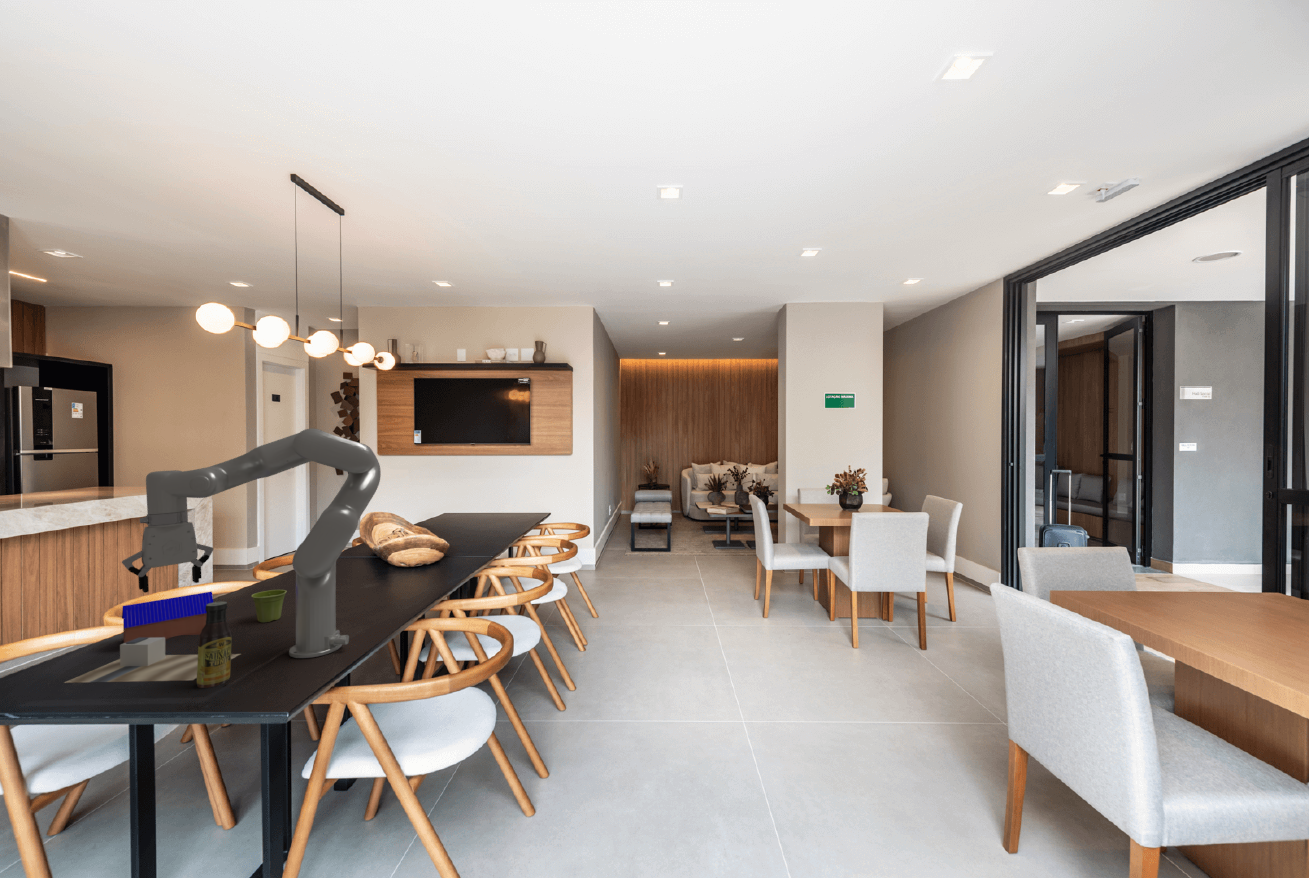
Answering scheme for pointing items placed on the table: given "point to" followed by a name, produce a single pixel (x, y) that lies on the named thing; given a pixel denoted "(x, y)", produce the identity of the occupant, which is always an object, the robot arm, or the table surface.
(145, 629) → the house
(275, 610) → the plant pot
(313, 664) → the table surface
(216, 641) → the sauce bottle
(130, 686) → the table surface
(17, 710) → the table surface
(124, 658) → the light grey block
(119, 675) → the board
